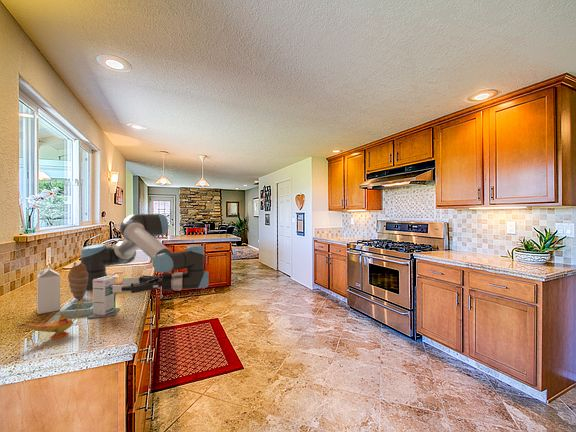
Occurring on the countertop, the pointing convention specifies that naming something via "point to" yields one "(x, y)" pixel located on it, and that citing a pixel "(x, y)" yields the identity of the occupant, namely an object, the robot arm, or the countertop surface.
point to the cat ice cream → (78, 280)
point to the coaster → (103, 315)
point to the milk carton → (48, 291)
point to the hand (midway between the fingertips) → (117, 284)
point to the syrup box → (104, 295)
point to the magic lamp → (56, 325)
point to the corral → (70, 312)
